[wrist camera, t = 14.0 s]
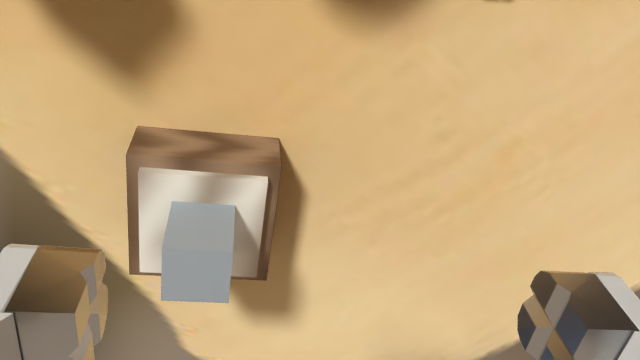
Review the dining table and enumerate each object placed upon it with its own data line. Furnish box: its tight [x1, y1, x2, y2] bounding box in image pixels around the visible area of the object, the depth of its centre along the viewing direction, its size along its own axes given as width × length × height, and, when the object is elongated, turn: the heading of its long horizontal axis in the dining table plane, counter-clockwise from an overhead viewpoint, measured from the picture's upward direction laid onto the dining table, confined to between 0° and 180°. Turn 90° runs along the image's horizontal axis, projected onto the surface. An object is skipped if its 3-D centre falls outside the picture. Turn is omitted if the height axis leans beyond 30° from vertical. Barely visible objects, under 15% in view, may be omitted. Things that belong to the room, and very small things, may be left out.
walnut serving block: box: [126, 126, 281, 280], centre depth 49 cm, size 12×12×6 cm
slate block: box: [161, 201, 235, 303], centre depth 44 cm, size 5×5×6 cm
